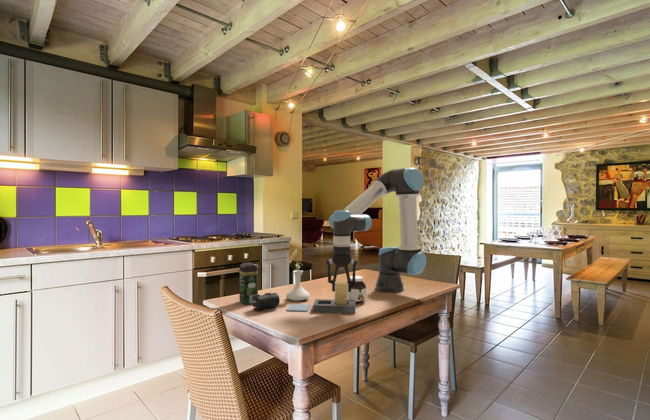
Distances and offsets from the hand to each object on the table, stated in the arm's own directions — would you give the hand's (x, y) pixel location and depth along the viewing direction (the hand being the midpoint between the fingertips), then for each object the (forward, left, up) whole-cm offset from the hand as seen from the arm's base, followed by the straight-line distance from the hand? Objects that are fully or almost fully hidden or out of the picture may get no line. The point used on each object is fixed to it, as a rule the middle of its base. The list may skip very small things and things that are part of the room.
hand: (341, 299), depth 152 cm
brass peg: (0, 0, -5) cm, 5 cm away
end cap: (+33, +3, -5) cm, 34 cm away
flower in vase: (+22, -14, -5) cm, 27 cm away
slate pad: (+19, 0, -5) cm, 20 cm away
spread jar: (-6, -16, -5) cm, 18 cm away
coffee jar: (+44, -7, -5) cm, 45 cm away
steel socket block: (+3, 0, -5) cm, 6 cm away
